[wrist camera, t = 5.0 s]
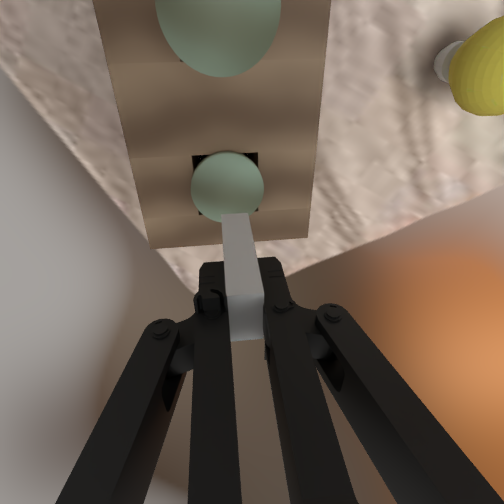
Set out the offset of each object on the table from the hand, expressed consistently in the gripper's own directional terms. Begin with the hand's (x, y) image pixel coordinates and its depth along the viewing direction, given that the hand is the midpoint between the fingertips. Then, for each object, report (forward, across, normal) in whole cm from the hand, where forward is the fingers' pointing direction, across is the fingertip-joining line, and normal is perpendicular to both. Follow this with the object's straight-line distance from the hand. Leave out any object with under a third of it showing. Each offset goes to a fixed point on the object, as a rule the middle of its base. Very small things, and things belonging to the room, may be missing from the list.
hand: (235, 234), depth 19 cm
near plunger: (+11, 0, +10) cm, 15 cm away
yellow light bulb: (+17, +21, +7) cm, 28 cm away
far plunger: (+16, 0, -1) cm, 16 cm away
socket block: (+16, 0, +5) cm, 17 cm away
